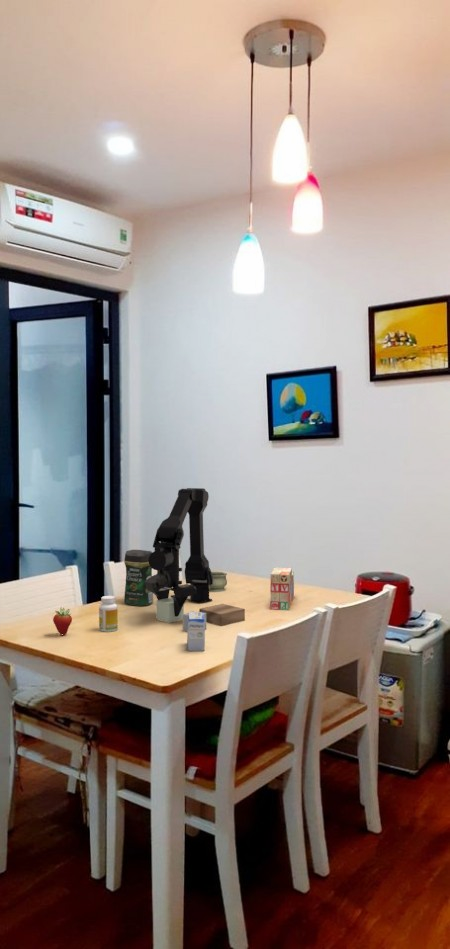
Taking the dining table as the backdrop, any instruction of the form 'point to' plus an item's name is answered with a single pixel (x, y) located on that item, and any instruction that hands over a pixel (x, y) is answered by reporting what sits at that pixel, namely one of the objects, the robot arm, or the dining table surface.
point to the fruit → (62, 620)
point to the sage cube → (167, 611)
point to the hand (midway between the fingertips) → (170, 614)
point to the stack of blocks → (281, 588)
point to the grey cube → (185, 621)
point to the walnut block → (223, 614)
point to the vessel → (218, 582)
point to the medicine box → (196, 631)
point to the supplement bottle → (108, 614)
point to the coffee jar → (137, 578)
